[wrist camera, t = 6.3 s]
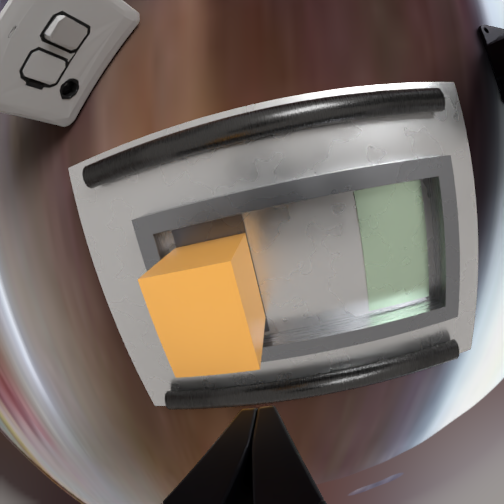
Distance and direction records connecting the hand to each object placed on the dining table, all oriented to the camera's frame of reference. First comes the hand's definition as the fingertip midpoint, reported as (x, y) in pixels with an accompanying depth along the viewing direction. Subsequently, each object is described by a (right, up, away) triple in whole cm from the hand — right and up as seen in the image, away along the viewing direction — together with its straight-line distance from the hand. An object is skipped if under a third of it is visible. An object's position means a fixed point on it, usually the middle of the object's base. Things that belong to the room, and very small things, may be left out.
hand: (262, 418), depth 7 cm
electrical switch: (-12, +18, +9) cm, 24 cm away
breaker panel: (+2, +4, +12) cm, 12 cm away
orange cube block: (-2, +2, +10) cm, 11 cm away
